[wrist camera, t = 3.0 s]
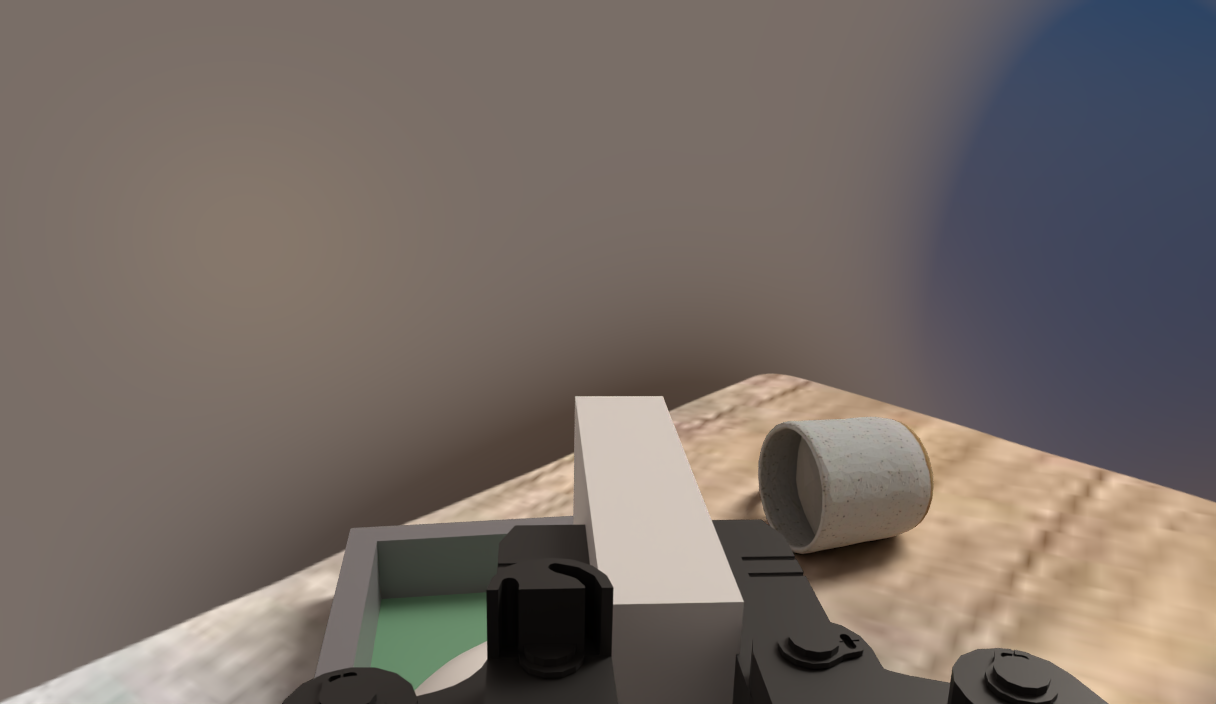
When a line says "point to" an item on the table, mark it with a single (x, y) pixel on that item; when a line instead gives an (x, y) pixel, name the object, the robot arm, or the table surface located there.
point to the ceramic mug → (843, 481)
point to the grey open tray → (407, 576)
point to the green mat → (427, 633)
